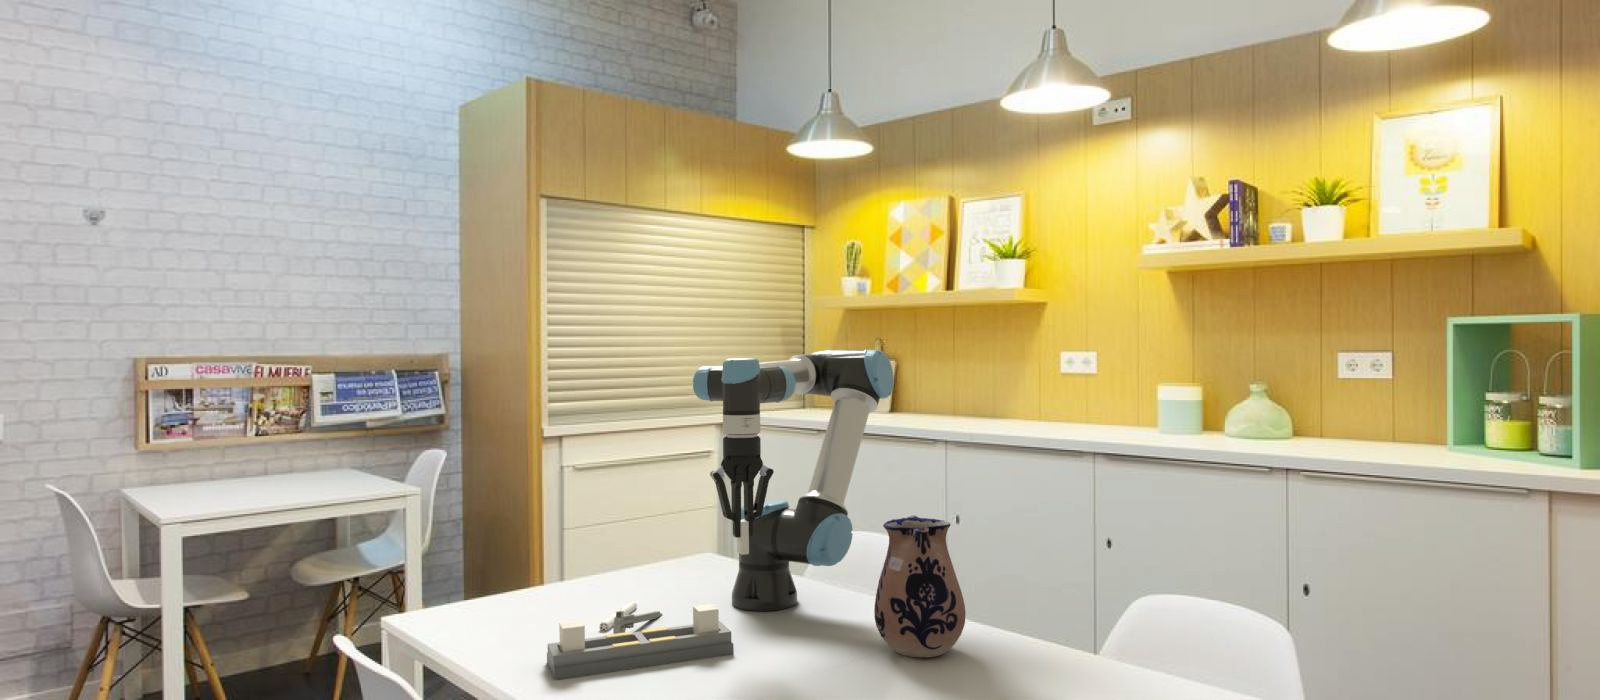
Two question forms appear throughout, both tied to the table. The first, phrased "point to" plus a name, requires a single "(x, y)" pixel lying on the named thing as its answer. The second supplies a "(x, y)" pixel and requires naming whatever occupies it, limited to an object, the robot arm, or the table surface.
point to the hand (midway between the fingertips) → (743, 552)
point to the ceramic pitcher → (919, 590)
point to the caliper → (631, 620)
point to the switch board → (638, 650)
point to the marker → (610, 620)
